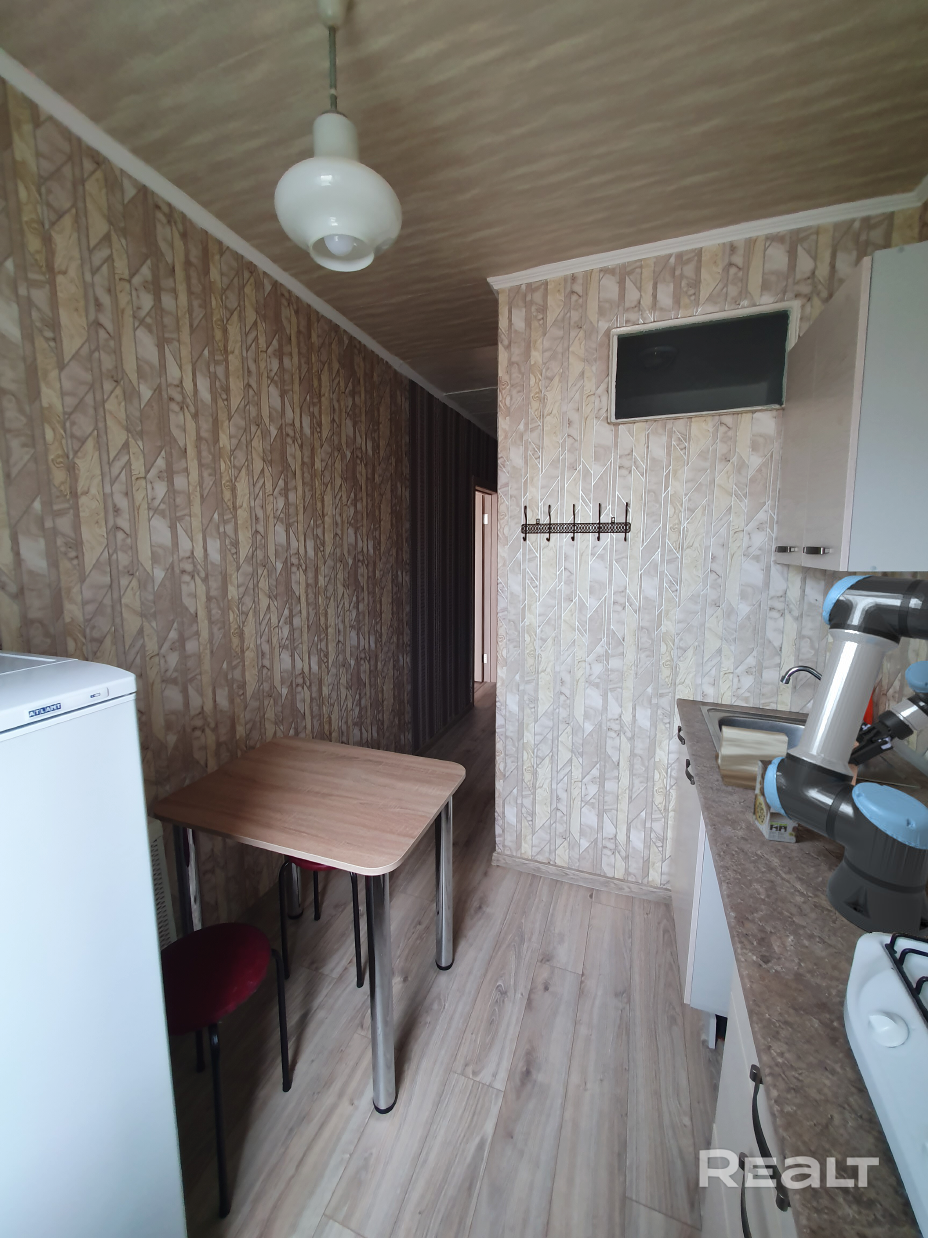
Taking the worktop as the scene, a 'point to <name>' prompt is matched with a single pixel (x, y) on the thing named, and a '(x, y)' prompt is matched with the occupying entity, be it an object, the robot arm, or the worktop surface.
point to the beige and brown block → (747, 754)
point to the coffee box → (771, 812)
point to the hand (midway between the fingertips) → (819, 768)
